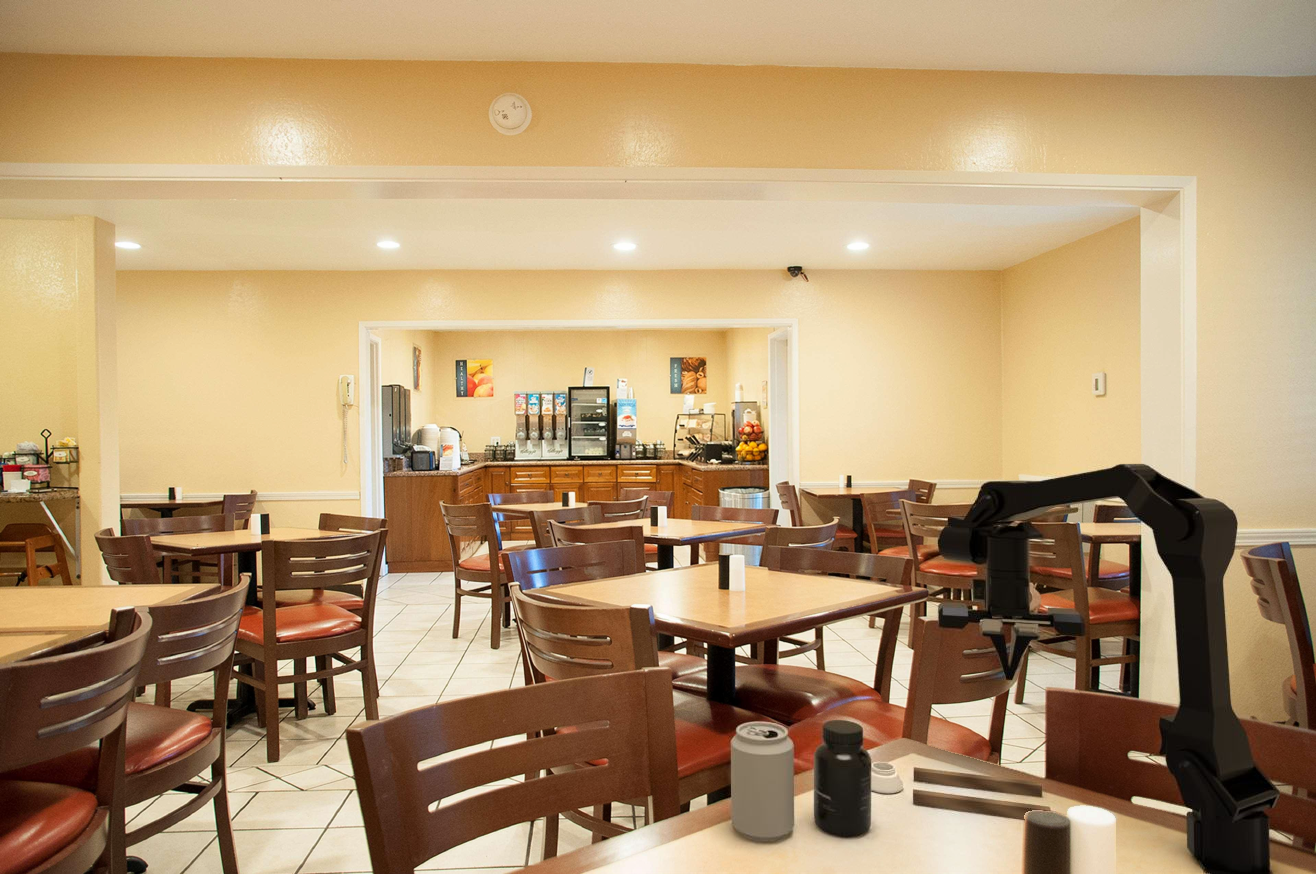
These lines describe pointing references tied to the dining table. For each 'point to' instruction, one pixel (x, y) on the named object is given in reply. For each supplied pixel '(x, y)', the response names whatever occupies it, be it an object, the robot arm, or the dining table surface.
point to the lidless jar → (885, 778)
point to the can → (762, 781)
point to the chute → (976, 803)
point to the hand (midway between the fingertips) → (1008, 679)
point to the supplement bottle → (842, 781)
